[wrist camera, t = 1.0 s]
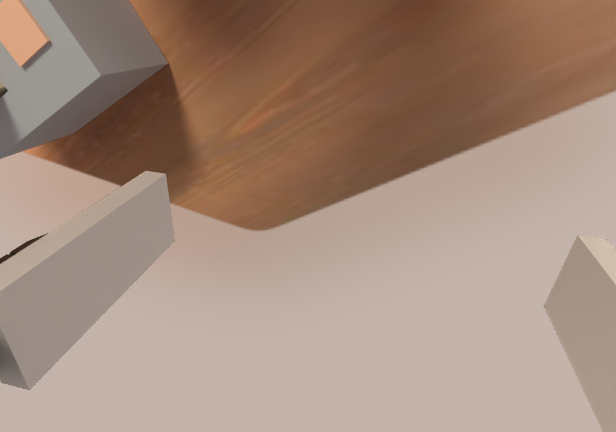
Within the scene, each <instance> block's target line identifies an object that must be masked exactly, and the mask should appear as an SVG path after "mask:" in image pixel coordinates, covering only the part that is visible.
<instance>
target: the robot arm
mask: <svg viewBox="0 0 616 432" xmlns="http://www.w3.org/2000/svg"><path fill="white" fill-rule="evenodd" d="M174 241H175V239H174V231H173V224H172V216H171V209H170V201H169V194H168V186H167V179H166V174H164V173H157V172H150V171H145V172H143V173H142V174H140V175H138V176H137V177H135V178H134V179H132V180H131V181H129V182H128V183H126V184H124V185H123V186H121V187H120V188H118V189H117V190H115V191H113V192H112V193H111V194H109V195H107V196H106V197H104V198H103V199H101V200H99V201H98V202H97V203H95V204H93V205H92V206H90V207H89V208H87V209H86V210H84V211H82V212H81V213H79V214H78V215H76V216H75V217H73V218H71V219H70V220H68V221H67V222H65V223H64V224H62V225H61V226H59V227H57V228H56V229H54V230H53V231H51V232H50V233H47V234H45V235H43V236H40V237H37V238H35V239H32V240H30V241H27V242H26V243H24V244H23V245H21V246H19V247H18V248H16V249H14V250H13V251H11V252H10V254H9V255H5V256H3V257H2V258H0V381H1V382H2V383H4V384H8V385H12V386H16V387H20V388H23V389H27V390H30V389H31V388H32V387H33V386H34V385H35V384H36V383H37V382H38V381H39V380H40V379H41V378H42V377H43V376H44V375H45V373H47V371H48V370H50V369H51V368H52V366H53V365H54V364H55V363H56V362H57V361H58V360H59V359H60V358H61V357H62V356H63V355H64V354H65V353H66V352H67V351H68V350H69V349H70V348H71V347H72V346H73V345H74V344H75V343H76V342H77V341H78V340H79V339H80V338H81V337H82V336H83V334H84V333H86V332H87V330H88V329H89V328H90V327H91V326H92V325H93V324H94V323H95V322H96V321H97V320H98V319H99V318H100V317H101V316H102V315H103V314H104V313H105V312H106V311H107V310H108V309H109V308H110V307H111V306H112V305H113V304H114V303H115V302H116V301H117V300H118V298H120V296H121V295H122V294H123V293H124V292H125V291H126V290H127V289H128V288H129V287H130V286H131V285H132V284H133V283H134V282H135V281H136V280H137V279H138V278H139V277H140V276H141V275H142V274H143V273H144V272H145V271H146V270H147V269H148V268H149V267H150V265H152V263H153V262H154V261H155V260H156V259H157V258H158V257H159V256H160V255H161V254H162V253H163V252H164V251H165V250H166V249H167V248H168V247H169V246H170V245H171V244H172V243H173V242H174ZM544 308H545V310H546V312H547V314H548V316H549V318H550V320H551V322H552V325H553V327H554V329H555V331H556V333H557V335H558V337H559V339H560V342H561V344H562V346H563V348H564V350H565V352H566V354H567V356H568V358H569V361H570V363H571V365H572V367H573V369H574V371H575V373H576V375H577V378H578V380H579V382H580V384H581V386H582V388H583V391H584V393H585V395H586V397H587V399H588V401H589V403H590V405H591V408H592V410H593V412H594V414H595V416H596V418H597V420H598V422H599V424H600V427H601V429H602V431H603V432H616V250H615V248H614V247H613V246H612V245H611V244H610V243H609V242H608V240H607V239H601V238H594V237H588V236H581V235H577V238H576V240H575V242H574V244H573V246H572V248H571V250H570V253H569V254H568V257H567V258H566V261H565V263H564V265H563V267H562V269H561V271H560V273H559V275H558V277H557V279H556V282H555V284H554V286H553V288H552V290H551V292H550V294H549V296H548V298H547V301H546V303H545V305H544Z"/></svg>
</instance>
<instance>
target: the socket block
mask: <svg viewBox="0 0 616 432" xmlns="http://www.w3.org/2000/svg"><path fill="white" fill-rule="evenodd" d="M167 64H168V61H167V60H166V58H165V57H164V55H163V53H162V52H161V50H160V49H159V47H158V46H157V44H156V42H155V41H154V39H153V38H152V36H151V35H150V33H149V31H148V30H147V28H146V27H145V25H144V24H143V22H142V21H141V19H140V17H139V16H138V14H137V13H136V11H135V10H134V8H133V6H132V5H131V3H130V2H129V0H0V81H1V82H2V84H3V85H4V86H5V87H6V89H7V90H8V92H6V93H5V94H4V95H3V96H2V97H1V98H0V159H1V158H4V157H7V156H10V155H13V154H15V153H18V152H21V151H24V150H27V149H30V148H33V147H36V146H39V145H42V144H45V143H48V142H50V141H53V140H56V139H59V138H62V137H65V136H68V135H71V134H74V133H75V132H77V131H78V130H79V129H81V128H82V127H83V126H85V125H86V124H87V123H89V122H90V121H91V120H93V119H94V118H95V117H97V116H98V115H99V114H101V113H102V112H103V111H105V110H106V109H107V108H109V107H110V106H112V105H113V104H114V103H116V102H117V101H118V100H120V99H121V98H122V97H124V96H125V95H126V94H128V93H129V92H130V91H132V90H133V89H134V88H136V87H137V86H138V85H140V84H141V83H143V82H144V81H145V80H147V79H148V78H149V77H151V76H152V75H153V74H155V73H156V72H157V71H159V70H160V69H161V68H163V67H164V66H165V65H167Z"/></svg>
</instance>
